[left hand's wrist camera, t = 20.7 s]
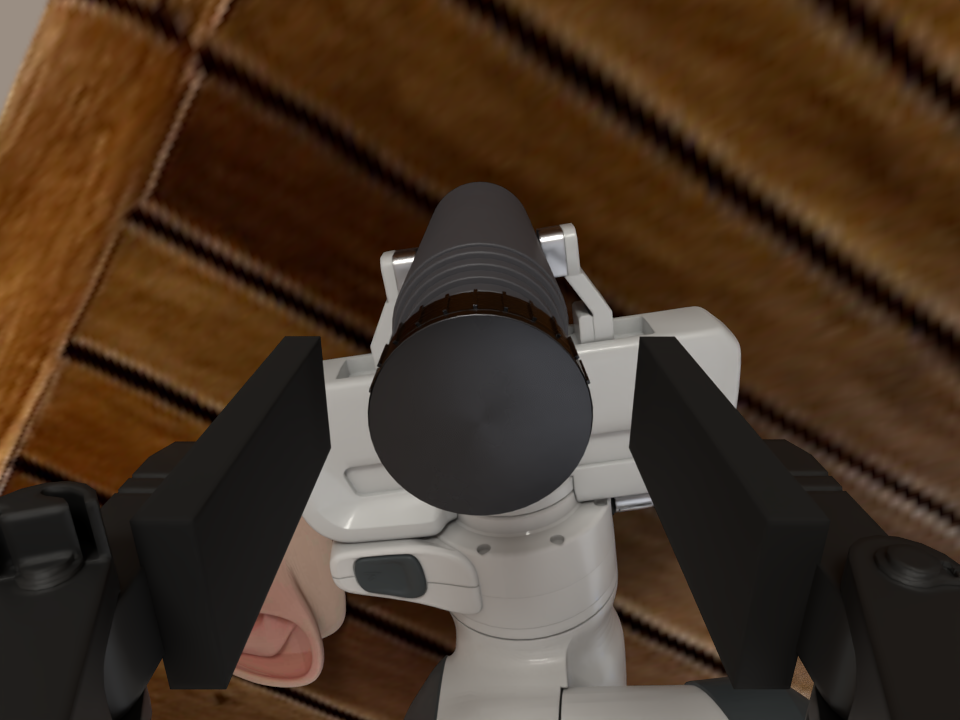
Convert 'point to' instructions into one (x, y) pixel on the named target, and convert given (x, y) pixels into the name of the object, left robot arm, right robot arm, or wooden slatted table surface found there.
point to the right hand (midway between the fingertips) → (475, 239)
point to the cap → (480, 404)
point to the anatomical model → (295, 616)
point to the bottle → (480, 254)
